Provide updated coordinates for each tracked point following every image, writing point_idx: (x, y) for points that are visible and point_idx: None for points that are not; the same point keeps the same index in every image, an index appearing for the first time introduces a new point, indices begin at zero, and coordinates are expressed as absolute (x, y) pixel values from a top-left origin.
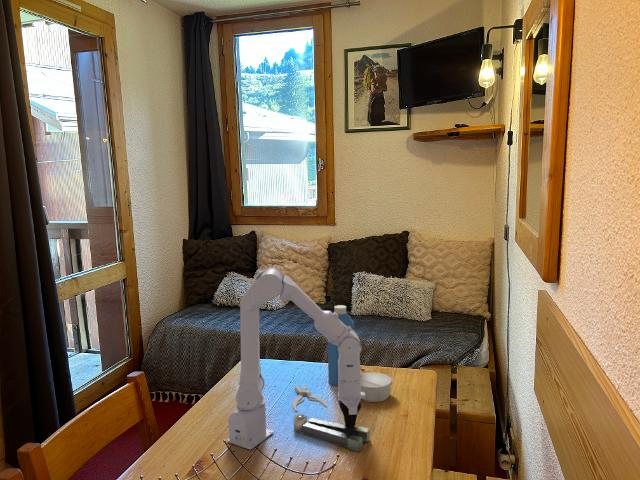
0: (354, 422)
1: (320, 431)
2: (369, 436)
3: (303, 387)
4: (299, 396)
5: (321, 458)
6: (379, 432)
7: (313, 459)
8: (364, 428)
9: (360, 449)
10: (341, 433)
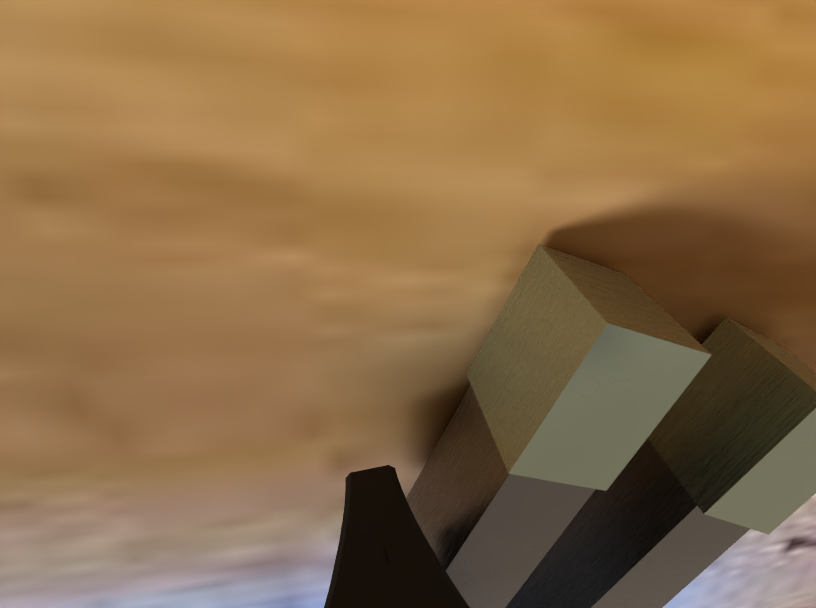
0: (423, 541)
1: None
2: (558, 261)
3: None
4: None
5: (741, 566)
6: (324, 81)
7: (735, 599)
8: (582, 394)
9: (764, 338)
10: (626, 590)
